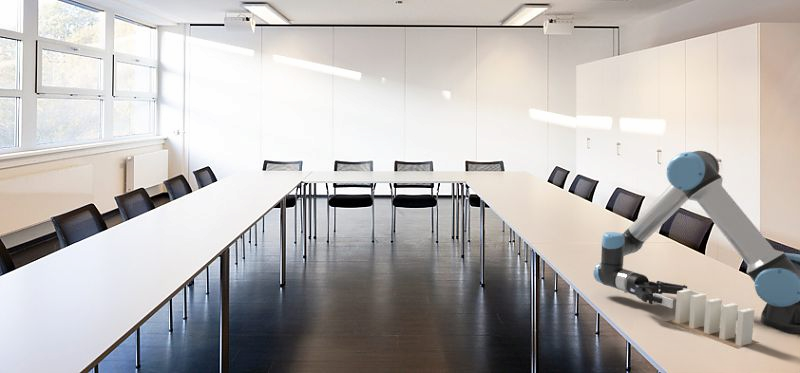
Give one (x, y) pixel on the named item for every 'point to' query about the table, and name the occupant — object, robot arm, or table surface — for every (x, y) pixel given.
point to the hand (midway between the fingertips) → (687, 300)
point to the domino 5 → (744, 326)
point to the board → (713, 335)
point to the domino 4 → (728, 321)
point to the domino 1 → (683, 306)
